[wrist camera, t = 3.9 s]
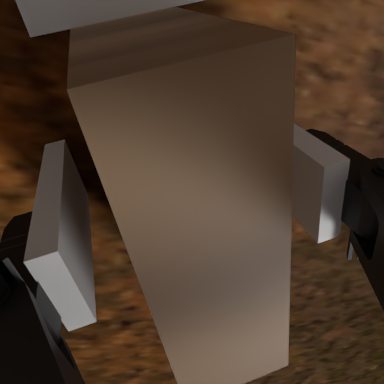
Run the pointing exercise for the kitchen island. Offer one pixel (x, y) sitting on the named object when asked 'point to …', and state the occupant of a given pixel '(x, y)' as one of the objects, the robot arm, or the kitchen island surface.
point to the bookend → (191, 169)
